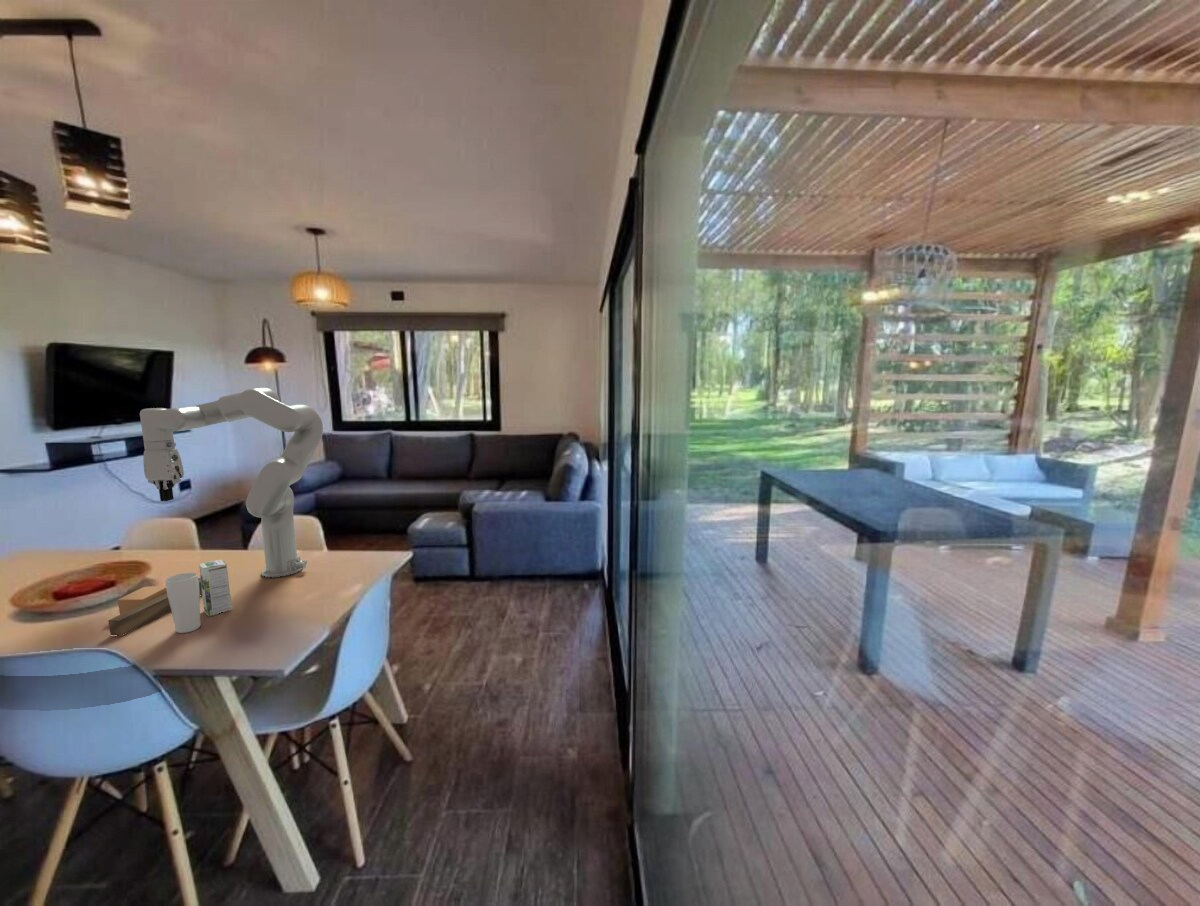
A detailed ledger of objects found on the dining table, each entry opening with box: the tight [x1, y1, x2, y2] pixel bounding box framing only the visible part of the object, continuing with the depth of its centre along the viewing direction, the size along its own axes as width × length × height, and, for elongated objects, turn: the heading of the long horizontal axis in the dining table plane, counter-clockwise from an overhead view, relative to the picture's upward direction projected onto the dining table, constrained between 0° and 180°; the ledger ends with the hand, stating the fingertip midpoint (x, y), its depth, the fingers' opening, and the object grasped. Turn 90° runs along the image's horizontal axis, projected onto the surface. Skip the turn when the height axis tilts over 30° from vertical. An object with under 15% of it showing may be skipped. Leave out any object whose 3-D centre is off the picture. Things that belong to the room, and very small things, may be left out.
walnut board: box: [107, 577, 202, 637], centre depth 148 cm, size 3×28×4 cm, turn 175°
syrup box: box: [198, 559, 232, 617], centre depth 148 cm, size 6×6×14 cm
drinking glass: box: [165, 572, 202, 634], centre depth 137 cm, size 7×7×15 cm
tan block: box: [117, 585, 167, 615], centre depth 148 cm, size 7×9×6 cm
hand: (167, 500), depth 169 cm, fingers closed
